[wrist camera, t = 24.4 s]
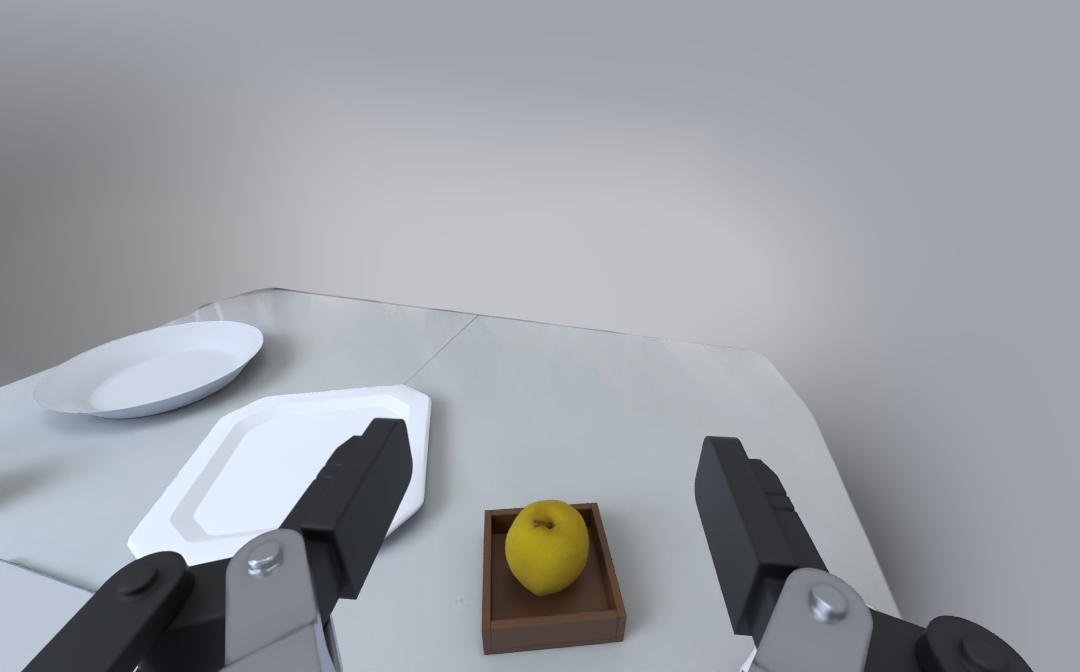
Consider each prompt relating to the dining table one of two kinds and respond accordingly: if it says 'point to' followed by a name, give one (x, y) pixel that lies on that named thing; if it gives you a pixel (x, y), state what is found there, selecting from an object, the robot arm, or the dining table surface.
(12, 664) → the smartphone
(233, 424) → the plate
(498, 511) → the brown tray
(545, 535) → the apple
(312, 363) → the dining table surface
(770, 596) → the robot arm
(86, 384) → the bowl
